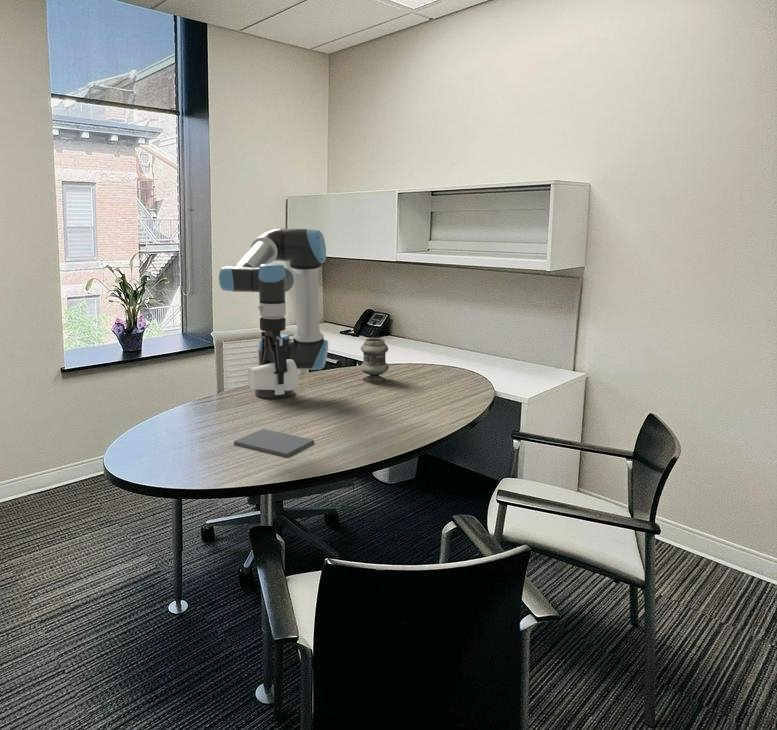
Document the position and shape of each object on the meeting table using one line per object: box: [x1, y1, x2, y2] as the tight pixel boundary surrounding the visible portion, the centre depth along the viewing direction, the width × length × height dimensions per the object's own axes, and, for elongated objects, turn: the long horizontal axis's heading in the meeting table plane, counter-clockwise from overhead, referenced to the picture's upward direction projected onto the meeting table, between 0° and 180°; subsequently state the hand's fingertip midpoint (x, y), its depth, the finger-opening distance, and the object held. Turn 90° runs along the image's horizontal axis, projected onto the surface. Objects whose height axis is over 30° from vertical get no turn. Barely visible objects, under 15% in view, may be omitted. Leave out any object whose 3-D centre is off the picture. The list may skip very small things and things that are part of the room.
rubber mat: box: [233, 428, 315, 458], centre depth 198 cm, size 20×14×1 cm
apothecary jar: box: [360, 337, 389, 384], centre depth 276 cm, size 12×12×18 cm
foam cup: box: [247, 359, 299, 391], centre depth 193 cm, size 10×9×13 cm
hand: (273, 390), depth 194 cm, fingers closed on foam cup, 9 cm apart
